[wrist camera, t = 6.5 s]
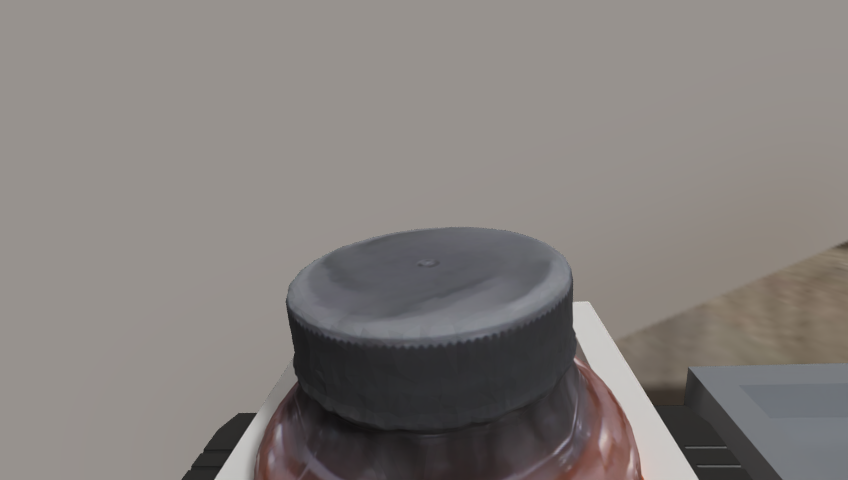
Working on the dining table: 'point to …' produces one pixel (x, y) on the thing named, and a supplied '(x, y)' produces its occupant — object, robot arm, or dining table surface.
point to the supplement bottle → (442, 367)
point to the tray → (777, 417)
